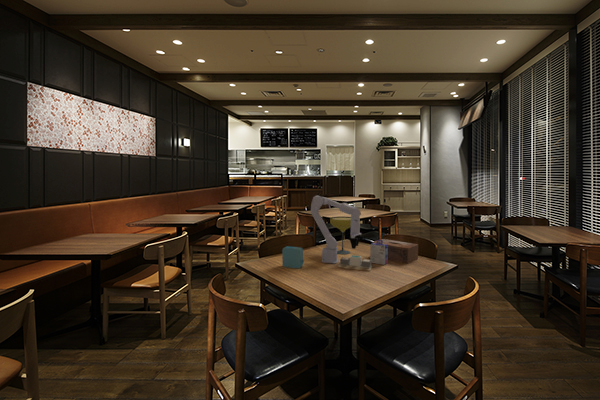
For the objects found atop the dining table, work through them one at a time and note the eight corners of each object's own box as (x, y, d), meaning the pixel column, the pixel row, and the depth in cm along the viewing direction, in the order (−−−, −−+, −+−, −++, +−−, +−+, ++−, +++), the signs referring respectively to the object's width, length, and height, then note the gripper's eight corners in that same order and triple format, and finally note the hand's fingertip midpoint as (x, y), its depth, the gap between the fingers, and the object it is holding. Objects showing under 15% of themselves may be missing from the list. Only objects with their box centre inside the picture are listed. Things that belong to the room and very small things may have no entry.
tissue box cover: (417, 259, 203) (418, 244, 202) (407, 263, 193) (408, 248, 192) (383, 252, 221) (383, 238, 220) (372, 256, 211) (372, 242, 210)
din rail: (339, 265, 187) (339, 264, 187) (341, 262, 192) (341, 261, 192) (370, 268, 180) (370, 267, 180) (372, 266, 185) (372, 265, 185)
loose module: (350, 264, 185) (350, 256, 185) (351, 263, 189) (351, 255, 188) (360, 266, 183) (360, 257, 183) (361, 264, 187) (361, 255, 186)
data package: (303, 266, 188) (303, 247, 187) (300, 268, 184) (300, 249, 182) (285, 264, 192) (285, 246, 191) (282, 266, 188) (282, 247, 187)
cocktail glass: (328, 255, 214) (328, 219, 212) (331, 248, 232) (331, 216, 229) (354, 256, 210) (355, 220, 208) (355, 250, 228) (356, 216, 225)
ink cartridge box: (388, 263, 194) (388, 240, 193) (385, 265, 189) (385, 242, 188) (373, 260, 200) (373, 238, 198) (369, 262, 195) (370, 240, 194)
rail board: (338, 267, 186) (338, 265, 186) (342, 263, 194) (342, 261, 194) (370, 271, 178) (370, 269, 178) (372, 266, 187) (372, 265, 187)
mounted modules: (340, 264, 187) (340, 259, 187) (342, 261, 192) (342, 256, 191) (369, 267, 180) (369, 262, 180) (371, 264, 185) (371, 259, 185)
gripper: (359, 228, 188) (358, 250, 189) (363, 224, 202) (363, 245, 203) (347, 227, 191) (347, 249, 192) (352, 224, 204) (352, 244, 205)
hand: (355, 247), depth 198 cm, fingers open, 7 cm apart
